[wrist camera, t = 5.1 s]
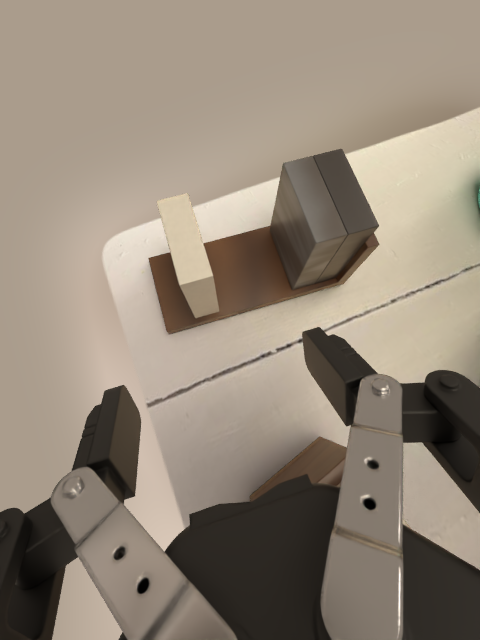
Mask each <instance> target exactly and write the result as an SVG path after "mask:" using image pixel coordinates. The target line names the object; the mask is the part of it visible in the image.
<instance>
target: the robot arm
mask: <svg viewBox="0 0 480 640" xmlns="http://www.w3.org/2000/svg"><path fill="white" fill-rule="evenodd" d="M302 337H303V346H304V356H305V362H306V365H307V368H308V370H309V372H310V373H311V375H312V376H313V378H314V379H315V381H316V382H317V384H318V385H319V387H320V388H321V389H322V391H323V392H324V394H325V395H326V397H327V398H328V400H329V401H330V403H331V404H332V406H333V407H334V409H335V410H336V412H337V413H338V415H339V416H340V418H341V419H342V421H343V422H344V424H345V425H346V426H349V425H351V428H350V433H349V439H348V445H347V451H346V457H345V463H344V469H343V475H342V481H341V487H338V486H334V485H331V484H326V483H311V481H310V479H309V477H308V474H305V475H302V476H299V477H296V478H293V479H290V480H287V481H285V482H282V483H279V484H277V485H276V486H274V487H273V488H271V489H270V490H268V491H267V492H266V493H264V494H263V495H261V496H260V497H258V498H257V499H255V500H253V501H251V502H243V503H228V504H218V505H215V506H212V507H209V508H206V509H203V510H201V511H198V512H195V513H192V514H189V517H190V526H188V527H187V528H186V529H184V530H183V531H182V532H181V533H180V534H179V535H178V536H177V537H176V538H175V539H174V540H173V541H172V542H171V544H170V545H169V546H168V548H167V549H166V551H165V552H164V551H163V550H162V549H161V548H160V546H159V545H158V544H157V543H156V542H155V541H154V539H153V538H152V537H151V536H150V535H149V534H148V533H147V531H146V530H145V529H144V528H143V527H142V526H141V524H140V523H139V522H138V521H137V520H136V518H135V517H134V516H133V515H132V514H131V513H130V511H129V510H128V509H127V508H126V507H125V506H124V500H125V499H128V498H131V497H134V496H135V489H136V477H137V466H138V454H139V442H140V431H141V418H140V414H139V411H138V408H137V407H136V405H135V403H134V401H133V399H132V397H131V395H130V393H129V392H128V390H127V388H126V387H125V386H124V385H122V386H118V387H115V388H112V389H108V390H106V391H105V392H104V395H103V399H102V403H101V404H100V405H97V406H95V407H94V408H93V410H92V411H91V413H90V414H89V416H88V417H87V420H86V424H85V430H84V431H83V434H82V439H81V441H80V444H79V448H78V451H77V454H76V458H75V461H74V465H73V468H72V471H71V472H70V473H68V474H67V475H66V476H65V477H63V478H62V479H61V480H60V481H59V482H58V484H57V485H56V487H55V488H54V490H53V492H52V496H51V498H49V499H48V500H46V501H45V502H43V503H41V504H40V505H38V506H37V507H35V508H33V509H31V510H30V511H28V512H27V513H25V514H24V513H23V512H22V511H21V510H20V509H18V508H10V509H7V510H4V511H2V512H0V640H52V636H53V631H54V626H55V620H56V615H57V609H58V604H59V599H60V594H61V589H62V583H63V578H64V573H65V567H66V565H67V564H69V563H70V562H71V561H73V560H74V559H76V558H77V557H79V559H80V560H81V562H82V564H83V565H84V567H85V569H86V571H87V572H88V574H89V576H90V577H91V579H92V581H93V582H94V584H95V586H96V587H97V589H98V591H99V592H100V594H101V596H102V598H103V599H104V601H105V603H106V604H107V606H108V608H109V609H110V611H111V613H112V614H113V616H114V618H115V619H116V621H117V623H118V625H119V626H120V628H121V629H122V631H123V632H122V634H121V636H120V638H119V640H480V570H479V569H477V568H475V567H474V566H472V565H470V564H469V563H467V562H465V561H464V560H462V559H460V558H459V557H457V556H455V555H454V554H452V553H450V552H449V551H447V550H445V549H444V548H442V547H440V546H439V545H437V544H435V543H434V542H432V541H430V540H429V539H427V538H425V537H424V536H422V535H420V534H419V533H417V532H415V531H414V530H412V529H411V528H409V527H407V526H406V525H404V524H403V443H412V442H422V443H423V444H424V445H425V446H426V447H427V449H428V450H429V451H430V452H431V454H432V455H433V456H434V457H435V458H436V460H437V461H438V462H439V463H440V465H441V466H442V467H443V468H444V470H445V471H446V472H447V473H448V474H449V476H450V477H451V478H452V479H453V481H454V482H455V483H456V484H457V485H458V487H459V488H460V489H461V490H462V492H463V493H464V494H465V495H466V497H467V498H468V499H469V500H470V501H471V503H472V504H473V505H474V506H475V508H476V509H477V510H478V511H479V513H480V388H479V387H478V386H476V385H475V384H474V383H473V382H471V381H470V380H469V379H468V378H466V377H465V376H463V375H461V374H459V373H456V372H453V371H447V370H438V371H433V372H431V373H429V374H428V375H427V376H426V379H425V383H408V384H402V383H399V382H398V381H397V380H395V379H394V378H392V377H390V376H387V375H383V374H378V373H377V372H376V371H375V370H374V369H373V368H372V367H371V366H370V365H369V364H368V363H367V362H366V361H365V360H364V359H363V358H362V357H361V356H360V355H359V354H358V353H356V351H355V350H354V349H353V348H351V346H350V345H349V344H348V343H347V342H346V341H345V340H344V339H343V338H340V337H338V336H336V335H334V334H333V335H330V336H327V335H326V334H325V332H324V331H323V330H322V329H321V328H320V327H317V328H314V329H311V330H307V331H304V332H303V333H302Z"/></svg>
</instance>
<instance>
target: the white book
mask: <svg viewBox="0 0 480 640" xmlns="http://www.w3.org/2000/svg"><path fill="white" fill-rule="evenodd" d="M157 205H158V208H159V212H160V216H161V220H162V223H163V227H164V231H165V234H166V238H167V242H168V245H169V249H170V253H171V256H172V260H173V264H174V267H175V271H176V275H177V278H178V282H179V285H180V287H181V290H182V292H183V294H184V296H185V298H186V300H187V302H188V304H189V306H190V308H191V310H192V312H193V314H194V317H195V318H199V317H202V316H205V315H209V314H212V313H216V312H219V306H218V301H217V295H216V289H215V284H214V278H213V274H212V270H211V267H210V264H209V261H208V257H207V254H206V251H205V248H204V244H203V241H202V238H201V234H200V231H199V228H198V225H197V221H196V218H195V215H194V212H193V208H192V205H191V202H190V199H189V195H188V194H183V195H179V196H175V197H171V198H167V199H162V200H159V201H157Z"/></svg>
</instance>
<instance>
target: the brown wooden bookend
mask: <svg viewBox="0 0 480 640" xmlns="http://www.w3.org/2000/svg"><path fill="white" fill-rule="evenodd" d="M378 227H379V225H378V223H377V220H376V218H375V216H374V214H373V212H372V210H371V208H370V206H369V204H368V202H367V200H366V198H365V196H364V193H363V191H362V189H361V187H360V185H359V183H358V181H357V179H356V177H355V175H354V173H353V171H352V168H351V166H350V164H349V162H348V160H347V158H346V156H345V154H344V152H343V150H342V149H339V150H334V151H330V152H326V153H322V154H318V155H314V156H310V157H306V158H302V159H298V160H294V161H290V162H286V163H283V166H282V171H281V176H280V181H279V186H278V191H277V196H276V201H275V206H274V211H273V216H272V221H271V226H268V227H264V228H260V229H257V230H253V231H249V232H245V233H242V234H238V235H234V236H230V237H226V238H223V239H219V240H215V241H211V242H208V243H204V248H205V251H206V254H207V257H208V261H209V264H210V267H211V270H212V274H213V278H214V284H215V289H216V295H217V301H218V306H219V312H216V313H212V314H209V315H205V316H202V317H199V318H195V317H194V314H193V312H192V310H191V308H190V306H189V304H188V302H187V300H186V298H185V296H184V294H183V292H182V290H181V287H180V285H179V282H178V278H177V275H176V271H175V267H174V264H173V260H172V256H171V253H166V254H162V255H159V256H155V257H151V258H149V262H150V266H151V270H152V274H153V278H154V282H155V286H156V290H157V294H158V298H159V302H160V306H161V310H162V314H163V318H164V322H165V326H166V330H167V332H168V333H169V334H172V333H175V332H179V331H182V330H185V329H189V328H192V327H196V326H199V325H203V324H206V323H210V322H213V321H216V320H220V319H223V318H227V317H230V316H234V315H237V314H241V313H244V312H247V311H251V310H254V309H258V308H261V307H265V306H268V305H272V304H275V303H278V302H282V301H285V300H289V299H292V298H296V297H299V296H303V295H306V294H309V293H313V292H316V291H320V290H323V289H327V288H330V287H334V286H337V285H341V284H344V283H345V282H346V280H347V279H348V278H349V277H350V276H351V275H352V274H353V273H354V272H355V271H356V269H357V268H358V267H359V266H360V265H361V264H362V263H363V262H364V261H365V260H366V259H367V257H368V256H369V255H370V254H371V253H372V252H373V251H374V250H375V249H376V248H377V247H378V245H379V243H378V241H377V238H376V236H375V234H374V232H375V230H376V229H377V228H378Z"/></svg>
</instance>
